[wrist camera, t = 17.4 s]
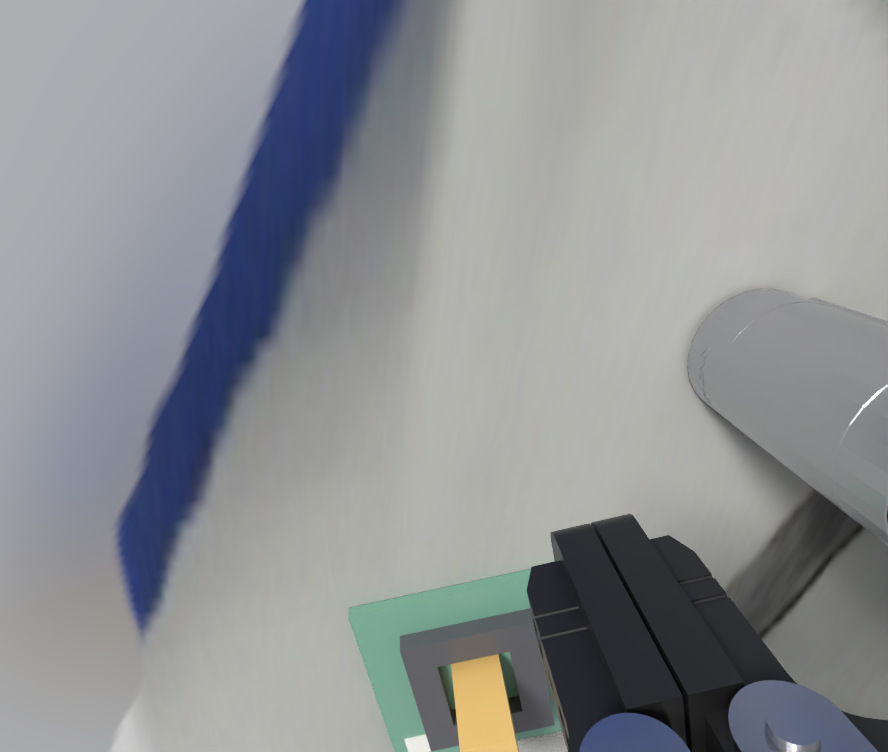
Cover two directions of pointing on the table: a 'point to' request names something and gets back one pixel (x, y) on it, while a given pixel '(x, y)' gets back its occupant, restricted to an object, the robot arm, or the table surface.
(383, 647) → the socket board
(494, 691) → the amber plug
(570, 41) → the table surface
